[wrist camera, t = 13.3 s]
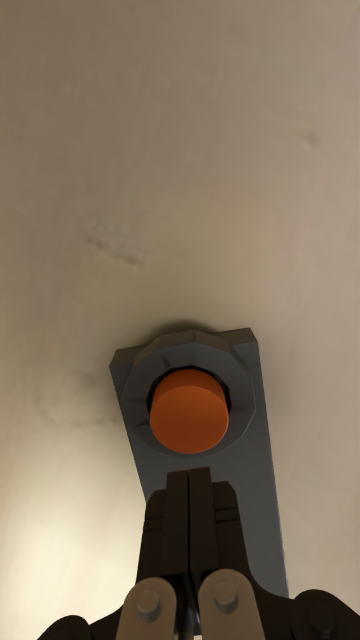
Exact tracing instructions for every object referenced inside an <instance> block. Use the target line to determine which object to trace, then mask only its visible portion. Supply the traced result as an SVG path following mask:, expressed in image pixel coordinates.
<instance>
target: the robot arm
mask: <svg viewBox="0 0 360 640" xmlns="http://www.w3.org/2000/svg"><path fill="white" fill-rule="evenodd" d="M194 635H202V640H360V616H359V615H358V614H357V613H356V612H354V611H353V610H352V609H351V608H349V607H348V606H347V605H346V604H344V603H343V602H342V601H341V600H340V599H338V598H337V597H335V596H334V595H332V594H330V593H328V592H326V591H323V590H318V589H311V590H306V591H304V592H302V593H300V594H299V595H298V596H297V597H296V598H295V599H290V598H286V597H282V596H278V595H275V594H272V593H270V592H268V591H266V590H265V589H264V588H262V587H261V586H260V585H259V584H258V583H257V582H256V580H255V579H254V577H253V576H252V574H251V571H250V568H249V564H248V558H247V553H246V547H245V541H244V536H243V530H242V524H241V519H240V513H239V507H238V502H237V496H236V491H235V490H234V489H233V487H232V486H231V485H230V483H229V482H228V481H220V482H213V478H212V473H211V468H210V466H208V467H201V468H194V469H190V470H181V471H174V472H168V473H167V481H166V489H162V490H155V491H154V492H153V493H152V495H151V497H150V499H149V500H148V502H147V504H146V511H145V521H144V526H143V533H142V540H141V548H140V555H139V563H138V570H137V577H136V583H135V586H134V587H133V588H132V589H131V590H130V591H129V593H128V595H127V596H126V598H125V601H124V604H123V605H122V606H121V607H120V608H119V609H118V610H116V611H115V612H113V613H112V614H110V615H108V616H106V617H104V618H102V619H100V620H98V621H96V622H94V623H92V624H90V625H88V623H87V621H86V620H85V619H84V618H82V617H80V616H77V615H69V616H65V617H63V618H61V619H59V620H57V621H56V622H54V623H53V624H52V625H51V626H49V627H48V628H47V629H46V631H45V632H44V633H43V634H42V635H41V636H40V637H39V638H38V639H37V640H194Z"/></svg>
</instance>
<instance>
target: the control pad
mask: <svg viewBox="0 0 360 640" xmlns="http://www.w3.org/2000/svg"><path fill="white" fill-rule="evenodd" d="M109 368H110V372H111V375H112V379H113V383H114V386H115V390H116V394H117V397H118V401H119V405H120V408H121V412H122V416H123V419H124V423H125V427H126V431H127V434H128V438H129V442H130V445H131V449H132V453H133V456H134V460H135V464H136V467H137V471H138V475H139V478H140V482H141V486H142V489H143V493H144V497H145V501H146V504H147V502H148V500H149V499H150V497H151V495H152V493H153V492H154V491H155V490H162V489H166V481H167V473H168V472H174V471H181V470H190V469H194V468H201V467H208V466H210V468H211V473H212V478H213V482H220V481H228V482H229V483H230V485H231V486H232V487H233V489H234V490H235V491H236V496H237V502H238V507H239V513H240V519H241V524H242V530H243V536H244V541H245V547H246V553H247V558H248V564H249V568H250V571H251V574H252V576H253V577H254V579H255V580H256V582H257V583H258V584H259V585H260V586H261V587H262V588H264V589H265V590H266V591H268V592H270V593H272V594H275V595H278V596H282V597H286V598H290V597H289V589H288V581H287V573H286V565H285V557H284V549H283V541H282V533H281V525H280V517H279V509H278V501H277V493H276V485H275V477H274V469H273V461H272V453H271V445H270V437H269V429H268V421H267V413H266V405H265V397H264V389H263V381H262V373H261V365H260V357H259V349H258V342H257V340H256V338H255V336H254V334H253V332H252V331H251V329H250V328H245V329H239V330H233V331H227V332H221V333H215V334H208V333H205V332H202V331H199V330H196V329H194V330H193V329H192V330H186V331H181V332H175V333H169V334H163V335H161V336H159V337H158V338H156V339H155V340H154V341H153V342H151V343H150V344H149V345H144V346H138V347H132V348H126V349H120V350H116V352H115V354H114V356H113V359H112V361H111V363H110V365H109ZM184 369H194V370H199V371H202V372H205V373H207V374H209V375H210V376H212V377H213V378H214V379H215V380H216V381H217V382H218V383H219V384H220V386H221V388H222V390H223V392H224V396H225V401H226V406H227V411H228V417H229V422H228V428H227V430H226V433H225V434H224V436H223V438H222V439H221V440H220V441H219V442H218V443H217V444H216V445H215V446H213V447H212V448H210V449H208V450H206V451H203V452H199V453H192V454H186V453H180V452H176V451H173V450H171V449H169V448H167V447H165V446H164V445H163V444H162V443H160V442H159V441H158V439H157V438H156V437H155V435H154V433H153V431H152V429H151V425H150V413H151V407H152V401H153V396H154V392H155V389H156V387H157V386H158V384H159V383H160V382H161V380H162V379H164V378H165V377H166V376H167V375H169V374H171V373H173V372H176V371H179V370H184ZM194 636H197V635H194Z"/></svg>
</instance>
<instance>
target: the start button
mask: <svg viewBox="0 0 360 640" xmlns="http://www.w3.org/2000/svg"><path fill="white" fill-rule="evenodd" d="M228 422H229V417H228V411H227V406H226V401H225V396H224V392H223V390H222V388H221V386H220V384H219V383H218V382H217V381H216V380H215V379H214V378H213V377H212V376H210V375H209V374H207V373H205V372H202V371H199V370H194V369H184V370H179V371H176V372H173V373H171V374H169V375H167V376H166V377H165V378H164V379H162V380H161V382H160V383H159V384H158V386H157V387H156V389H155V392H154V396H153V401H152V407H151V413H150V425H151V429H152V431H153V433H154V435H155V437H156V438H157V439H158V441H159V442H160V443H162V444H163V445H164V446H165V447H167V448H169V449H171V450H173V451H176V452H180V453H186V454H192V453H199V452H203V451H206V450H208V449H210V448H212V447H213V446H215V445H216V444H217V443H218V442H219V441H220V440H221V439H222V438H223V436H224V434H225V433H226V430H227V428H228Z"/></svg>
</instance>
